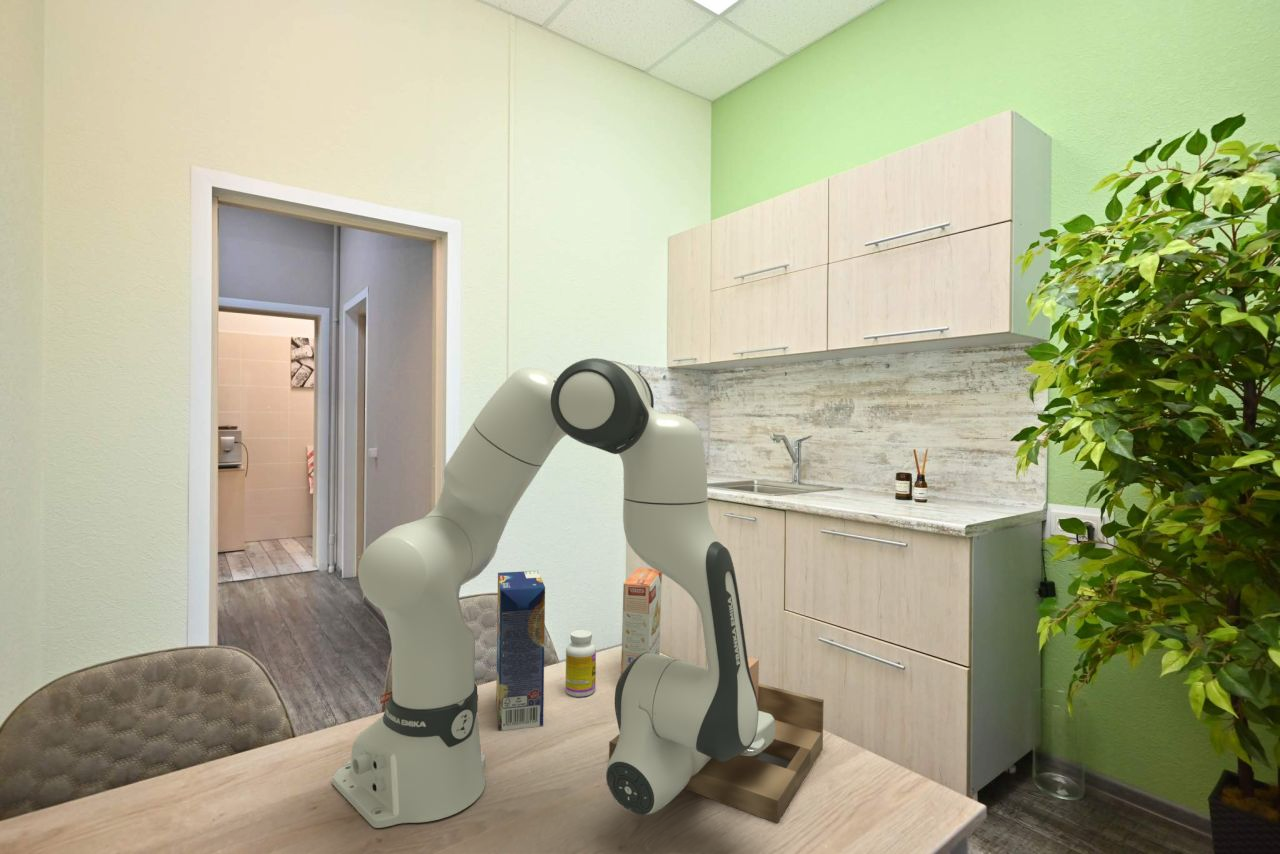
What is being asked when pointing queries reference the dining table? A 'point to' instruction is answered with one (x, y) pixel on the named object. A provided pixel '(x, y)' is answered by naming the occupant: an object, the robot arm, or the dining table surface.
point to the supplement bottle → (580, 664)
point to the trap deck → (766, 758)
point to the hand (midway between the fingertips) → (726, 697)
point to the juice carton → (520, 650)
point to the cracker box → (641, 614)
